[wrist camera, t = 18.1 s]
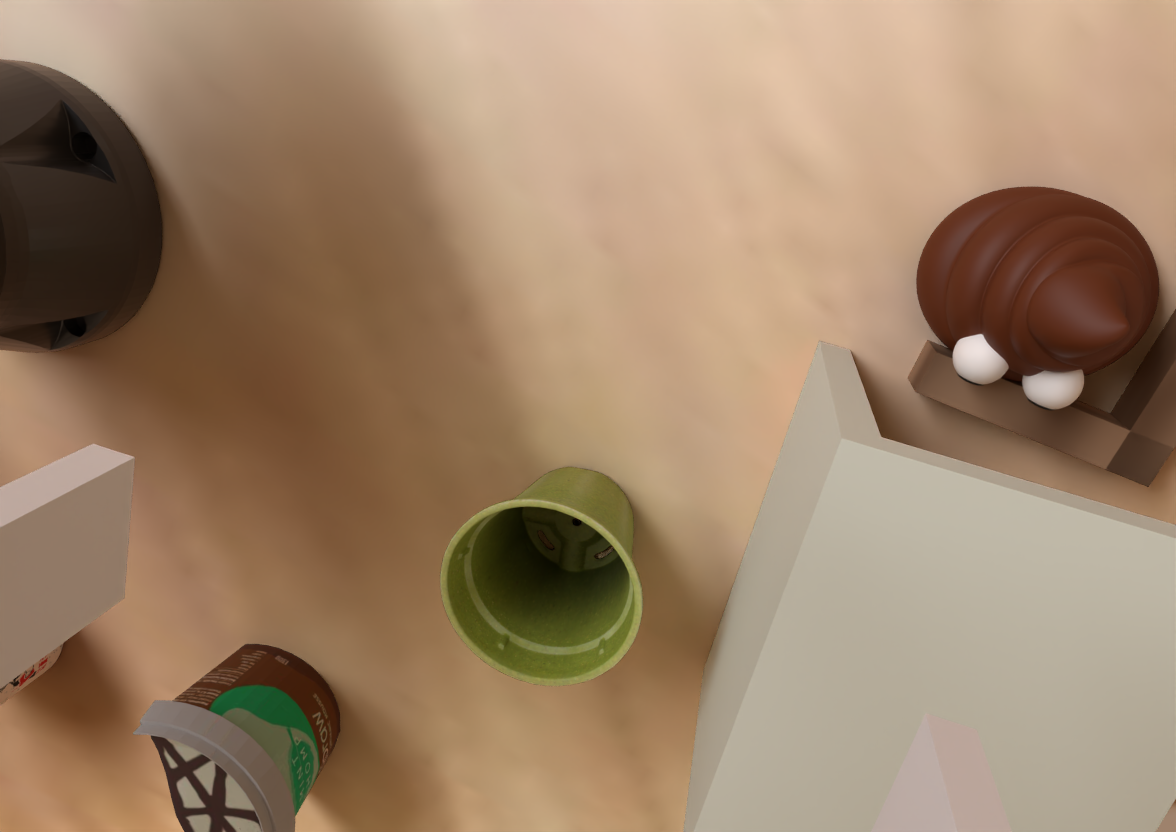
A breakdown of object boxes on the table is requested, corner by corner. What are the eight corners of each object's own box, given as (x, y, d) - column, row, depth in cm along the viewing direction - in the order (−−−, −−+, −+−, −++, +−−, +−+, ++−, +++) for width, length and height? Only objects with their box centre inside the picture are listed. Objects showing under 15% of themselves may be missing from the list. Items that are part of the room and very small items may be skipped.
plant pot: (568, 625, 51) (530, 720, 43) (460, 499, 50) (399, 572, 42) (699, 537, 48) (685, 622, 39) (586, 402, 46) (548, 460, 38)
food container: (380, 787, 57) (304, 916, 48) (295, 790, 58) (204, 917, 49) (327, 614, 54) (234, 717, 44) (237, 623, 55) (129, 724, 46)
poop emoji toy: (1182, 230, 39) (1302, 260, 30) (1086, 406, 42) (1169, 479, 33) (959, 156, 40) (1012, 165, 31) (880, 334, 43) (908, 387, 34)
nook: (703, 669, 50) (678, 872, 36) (819, 340, 43) (841, 438, 30) (971, 758, 48) (1049, 1004, 35) (1134, 432, 42) (1309, 578, 28)
